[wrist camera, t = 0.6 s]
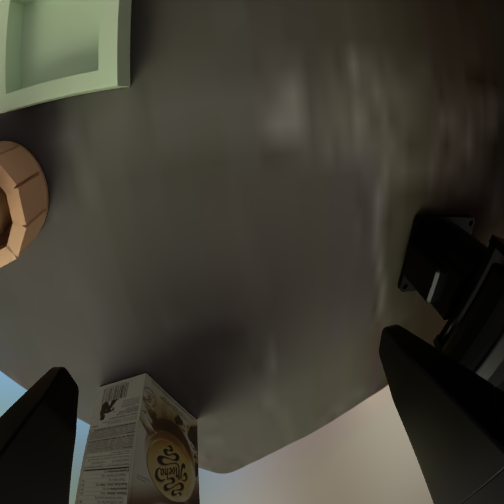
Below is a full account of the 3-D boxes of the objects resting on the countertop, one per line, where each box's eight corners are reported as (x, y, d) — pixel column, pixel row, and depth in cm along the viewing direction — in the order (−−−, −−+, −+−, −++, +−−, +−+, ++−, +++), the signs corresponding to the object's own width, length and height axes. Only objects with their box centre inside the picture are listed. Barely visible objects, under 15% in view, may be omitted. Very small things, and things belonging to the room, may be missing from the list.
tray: (134, -34, 12) (123, -50, 9) (130, 86, 15) (117, 85, 13) (19, -1, 11) (-1, -8, 8) (17, 110, 14) (-6, 115, 12)
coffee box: (200, 419, 30) (207, 563, 16) (151, 431, 31) (146, 562, 16) (147, 369, 26) (130, 549, 11) (96, 386, 26) (67, 539, 12)
